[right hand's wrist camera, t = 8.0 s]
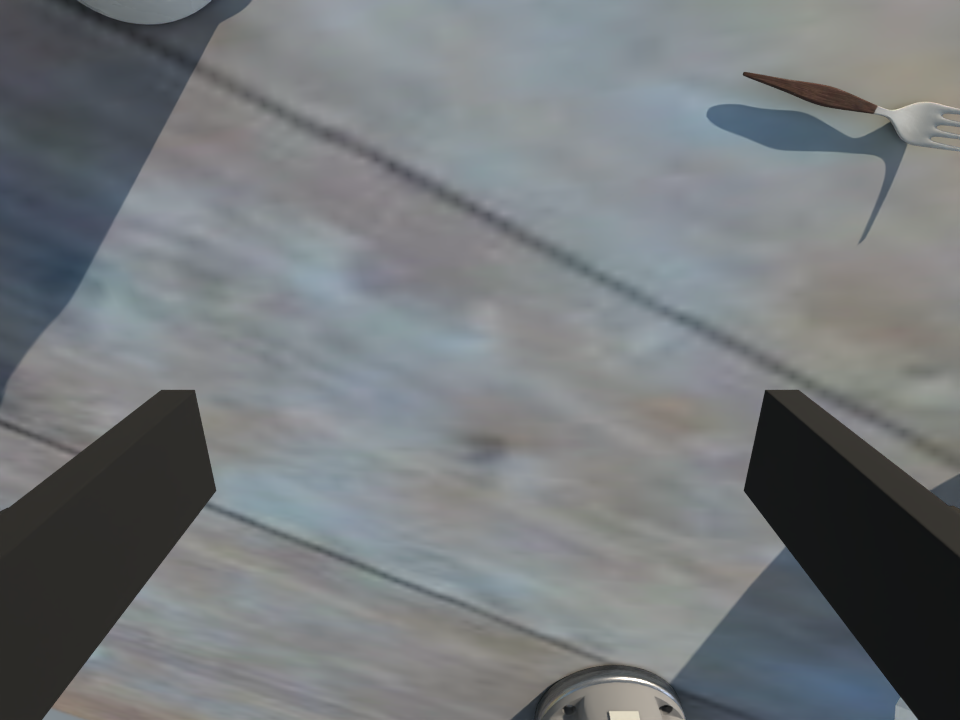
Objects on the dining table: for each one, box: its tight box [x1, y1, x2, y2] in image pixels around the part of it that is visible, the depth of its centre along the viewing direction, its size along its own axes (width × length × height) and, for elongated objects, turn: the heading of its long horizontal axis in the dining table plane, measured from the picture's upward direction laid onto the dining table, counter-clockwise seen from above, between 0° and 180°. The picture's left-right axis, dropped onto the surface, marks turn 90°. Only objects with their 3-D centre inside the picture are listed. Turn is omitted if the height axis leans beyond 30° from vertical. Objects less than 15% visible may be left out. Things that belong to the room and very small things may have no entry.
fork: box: [743, 72, 960, 151], centre depth 34 cm, size 3×16×2 cm, turn 76°
